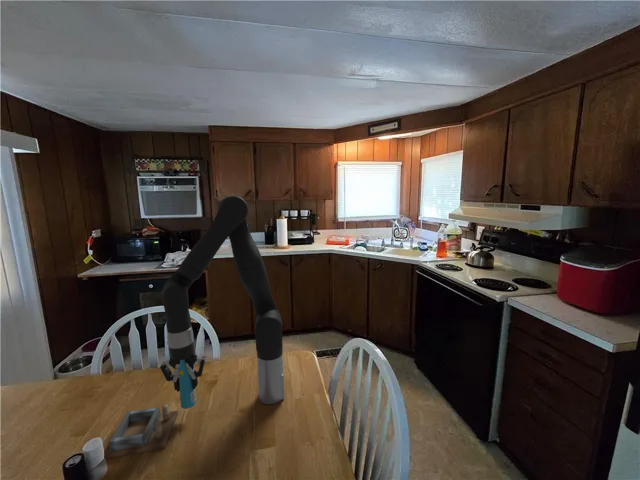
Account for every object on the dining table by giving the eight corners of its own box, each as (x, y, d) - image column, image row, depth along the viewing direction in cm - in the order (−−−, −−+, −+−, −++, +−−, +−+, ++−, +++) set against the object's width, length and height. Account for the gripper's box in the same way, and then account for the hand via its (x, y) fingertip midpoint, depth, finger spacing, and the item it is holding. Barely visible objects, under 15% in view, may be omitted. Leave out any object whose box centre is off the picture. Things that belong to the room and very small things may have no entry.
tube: (181, 399, 100) (174, 347, 97) (196, 394, 102) (190, 344, 99) (180, 413, 94) (173, 359, 90) (196, 409, 95) (190, 355, 92)
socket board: (177, 413, 101) (176, 397, 99) (164, 448, 87) (162, 430, 86) (126, 421, 98) (124, 404, 96) (104, 458, 84) (101, 439, 83)
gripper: (206, 333, 99) (211, 378, 102) (160, 338, 96) (167, 384, 99) (202, 344, 92) (207, 392, 95) (152, 350, 89) (159, 400, 92)
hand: (186, 388), depth 97 cm, fingers closed on tube, 4 cm apart
